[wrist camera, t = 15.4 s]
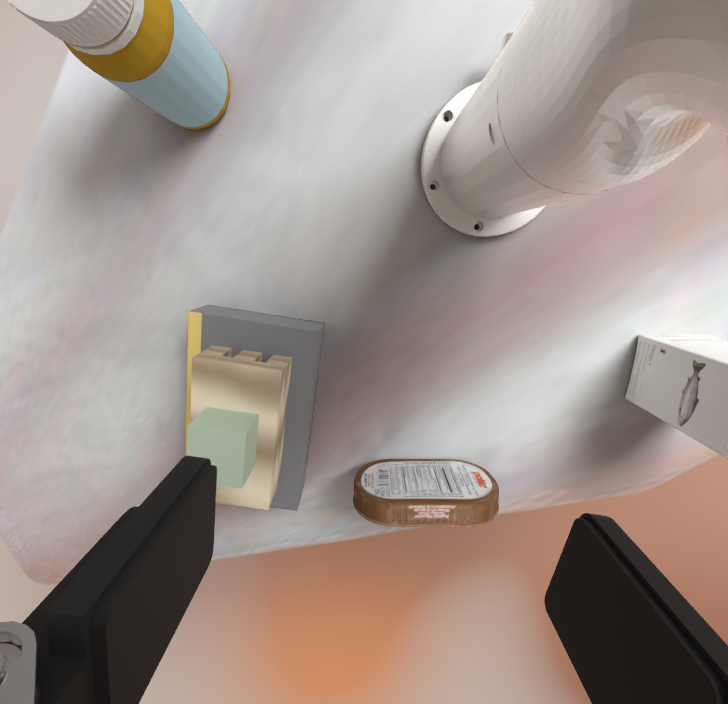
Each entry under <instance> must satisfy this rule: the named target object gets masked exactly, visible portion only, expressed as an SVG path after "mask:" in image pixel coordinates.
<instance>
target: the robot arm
mask: <svg viewBox="0 0 728 704" xmlns="http://www.w3.org/2000/svg"><path fill="white" fill-rule="evenodd" d="M444 117H447V118H448V120H449V121H448V122H446V121H444V119H443V118H444ZM712 124H713V125H714V126H716V127H717V128H718V129H719V130H720V131H722V132H723V133H724V134H725V135H726V136H728V0H535V1H534V3H533V5H532V6H531V8H530V9H529V11H528V12H527V14H526V15H525V17H524V18H523V20H522V21H521V23H520V24H519V26H518V27H517V29H516V30H515V32H514V33H509V34H506V35H505V36H504V39H503V44H502V48H501V53H500V54H499V56H498V57H497V59H496V60H495V62H494V63H493V65H492V66H491V68H490V69H489V71H488V72H487V74H486V75H485V77H484V78H483V80H482V81H479V82H477V83H474V84H472V85H470V86H468V87H466V88H464V89H463V90H462V91H460V92H459V93H457V94H456V95H454V96H453V97H452V98H451V99H450V100H449V101H448V102H447V103H446V104H445V105H444V106H443V108H442V109H441V111H440V112H439V114H438V115H437V116H436V118H435V119H434V121H433V123H432V125H431V127H430V129H429V131H428V134H427V137H426V140H425V142H424V146H423V152H422V157H421V177H422V183H423V188H424V191H425V194H426V196H427V199H428V201H429V203H430V205H431V206H432V208H433V210H434V211H435V213H436V214H437V215H438V216H439V217H440V218H441V219H442V220H443V221H444V222H445V223H446V224H448V225H449V226H451V227H452V228H453V229H455V230H458V231H460V232H462V233H464V234H468V235H472V236H477V237H491V236H499V235H502V234H506V233H509V232H513V231H515V230H517V229H519V228H521V227H523V226H525V225H526V224H527V223H529V222H530V221H531V220H533V219H534V218H535V217H536V216H537V215H538V214H539V213H540V212H541V211H543V210H544V208H545V207H546V206H547V205H551V204H555V203H559V202H563V201H566V200H570V199H574V198H578V197H582V196H586V195H590V194H594V193H598V192H602V191H606V190H609V189H612V188H616V187H620V186H623V185H626V184H629V183H631V182H634V181H637V180H639V179H642V178H644V177H646V176H648V175H650V174H652V173H654V172H656V171H658V170H659V169H661V168H663V167H664V166H666V165H667V164H669V163H670V162H672V161H673V160H674V159H676V158H677V157H678V156H679V155H681V154H682V153H683V152H684V151H686V150H687V149H688V148H689V147H690V146H692V145H693V144H694V143H695V142H696V141H697V140H698V139H699V138H700V137H701V136H702V135H703V134H704V133H705V132H706V131H707V130H708V128H709V127H710V126H711V125H712ZM432 184H433V185H435V190H431V188H430V186H431V185H432ZM476 224H477V225H478V229H477V230H475V229H474V226H475V225H476ZM216 484H217V467H216V466H214V465H211V461H210V459H208V458H202V457H195V456H188V455H187V456H185V457H184V458H182V459H181V461H180V462H179V463H178V464H177V465H176V466H175V467H174V468H173V470H172V471H171V472H170V473H169V474H168V475H167V476H166V477H165V478H164V480H163V481H162V482H161V483H160V484H159V485H158V486H157V487H156V488H155V490H154V491H153V492H152V493H151V494H150V495H149V496H148V497H147V498H146V500H145V501H144V502H143V503H142V504H141V505H140V506H139V507H132V508H130V509H129V510H128V511H127V512H125V513H124V514H123V515H122V516H121V517H120V519H119V520H118V521H117V522H116V523H115V524H114V525H113V526H112V527H111V528H110V529H109V530H108V531H107V533H106V534H105V535H104V536H103V537H102V538H101V539H100V540H99V541H98V542H97V543H96V544H95V545H94V546H93V548H92V549H91V550H90V551H89V552H88V553H87V554H86V555H85V556H84V557H83V558H82V559H81V560H80V561H79V563H78V564H77V565H76V566H75V567H74V568H73V569H72V570H71V571H70V572H69V573H68V574H67V575H66V577H65V578H64V579H63V580H62V581H61V582H60V583H59V584H58V585H57V586H56V587H55V588H54V589H53V590H52V592H51V593H50V594H49V595H48V596H47V597H46V598H45V599H44V600H43V601H42V602H41V603H40V605H39V606H38V607H37V608H36V609H35V610H34V611H33V612H32V613H31V614H30V615H29V617H27V619H26V620H25V621H24V622H23V623H18V622H13V621H12V622H1V623H0V704H139V702H140V700H141V698H142V696H143V694H144V692H145V690H146V688H147V686H148V684H149V682H150V680H151V678H152V676H153V674H154V672H155V670H156V668H157V666H158V665H159V662H160V661H161V659H162V657H163V655H164V653H165V651H166V649H167V647H168V645H169V643H170V641H171V639H172V637H173V635H174V633H175V631H176V629H177V627H178V625H179V623H180V621H181V619H182V617H183V615H184V613H185V611H186V609H187V607H188V606H189V604H190V602H191V600H192V598H193V596H194V594H195V592H196V590H197V588H198V586H199V584H200V582H201V580H202V578H203V576H204V574H205V572H206V570H207V568H208V566H209V564H210V561H211V558H212V554H213V544H214V524H215V504H216ZM545 607H546V611H547V613H548V615H549V617H550V619H551V621H552V623H553V625H554V627H555V629H556V631H557V633H558V636H559V637H560V639H561V642H562V644H563V646H564V648H565V650H566V652H567V654H568V656H569V658H570V660H571V662H572V664H573V666H574V668H575V670H576V672H577V674H578V676H579V678H580V680H581V682H582V684H583V686H584V688H585V690H586V692H587V694H588V696H589V698H590V701H591V702H592V704H728V646H727V644H726V643H725V642H724V641H723V640H722V639H721V638H720V637H719V636H718V635H717V633H716V632H715V631H714V630H713V629H712V628H711V627H710V626H709V625H708V624H707V622H706V621H705V620H704V619H703V618H702V617H701V616H700V615H699V614H698V613H697V611H696V610H695V609H694V608H693V607H692V606H691V605H690V604H689V603H688V602H687V600H686V599H685V598H684V597H683V596H682V595H681V594H680V593H679V592H678V591H677V589H675V587H674V586H673V585H672V584H671V583H670V582H669V581H668V580H667V578H666V577H665V576H664V575H663V574H662V573H661V572H660V571H659V570H658V569H657V568H656V566H655V565H654V564H653V563H652V562H651V561H650V560H649V559H648V557H647V556H646V555H645V554H644V553H643V552H642V551H641V550H640V549H639V548H638V546H637V545H636V544H635V543H634V542H633V541H632V540H631V539H630V538H629V537H628V536H627V534H626V533H625V532H624V531H623V530H622V529H621V528H620V527H619V526H618V525H617V523H616V522H615V521H614V520H613V519H612V518H610V517H607V516H602V515H595V514H588V513H585V514H583V515H581V516H580V518H577V519H576V520H575V521H574V523H573V526H572V528H571V531H570V533H569V536H568V538H567V541H566V544H565V546H564V549H563V551H562V554H561V556H560V559H559V562H558V564H557V566H556V569H555V572H554V574H553V577H552V579H551V582H550V585H549V587H548V589H547V592H546V595H545Z"/></svg>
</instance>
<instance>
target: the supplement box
mask: <svg viewBox="0 0 728 704" xmlns="http://www.w3.org/2000/svg"><path fill="white" fill-rule="evenodd" d="M625 398H626V399H627V400H629V401H630V402H632V403H634V404H635V405H637V406H639V407H640V408H642V409H644V410H646V411H647V412H649V413H651V414H652V415H654V416H656V417H658V418H659V419H661V420H663V421H664V422H666V423H668V424H670V425H671V426H673V427H675V428H676V429H678V430H680V431H682V432H683V433H685V434H687V435H688V436H690V437H692V438H693V439H695V440H697V441H698V442H700V443H702V444H704V445H705V446H707V447H709V448H710V449H712V450H714V451H715V452H717V453H719V454H721V455H722V456H724V457H726V458H727V459H728V340H727V339H723V338H719V337H715V336H711V335H639V337H638V344H637V350H636V355H635V360H634V364H633V368H632V373H631V377H630V381H629V385H628V389H627V392H626V396H625Z"/></svg>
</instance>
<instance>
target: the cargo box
mask: <svg viewBox="0 0 728 704" xmlns="http://www.w3.org/2000/svg"><path fill="white" fill-rule="evenodd" d="M258 422H259V414H253V413H246V412H239V411H232V410H225V409H219V408H212V407H206V408H205V409H204V410H203V411H202V412H201V413H200V414H199V415H198V416H197V417H196V418H195V419H194V420H193V421H192V422H191V423H190V424H189V425H188V432H187V455H188V456H195V457H202V458H208V459H210V461H211V465H214V466H216V467H217V484H216V485H220V486H227V487H235V488H243V486H244V484H245V482H246V480H247V479H248V477H249V475H250V473H251V471H252V469H253V467H254V465H255V460H256V447H257V435H258Z"/></svg>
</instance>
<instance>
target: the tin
mask: <svg viewBox="0 0 728 704" xmlns="http://www.w3.org/2000/svg"><path fill="white" fill-rule="evenodd" d="M498 496H499V487H498V484H497V482H496V480H495V479H494V478H493V477H492V476H491V475H490V473H489V472H488V471H486V470H485V469H484V468H482V467H480V466H478V465H475V464H472V463H469V462H466V461H461V460H440V459H388V460H379V461H375V462H372V463H369V464H367V465H366V466H364V467H363V468H361V469H360V470H359V471H358V473H357V475H356V477H355V480H354V497H353V503H354V506H355V508H356V510H357V511H358V513H359V514H360V515H361V516H363V517H364V518H366V519H367V520H369V521H371V522H374V523H377V524H380V525H385V526H414V527H417V526H423V527H424V526H425V527H429V526H431V527H475V526H480V525H484V524H486V523H488V522H489V521H491V520H493V519H494V518H495V517H496V515H497V513H498V510H499V505H498Z"/></svg>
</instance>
